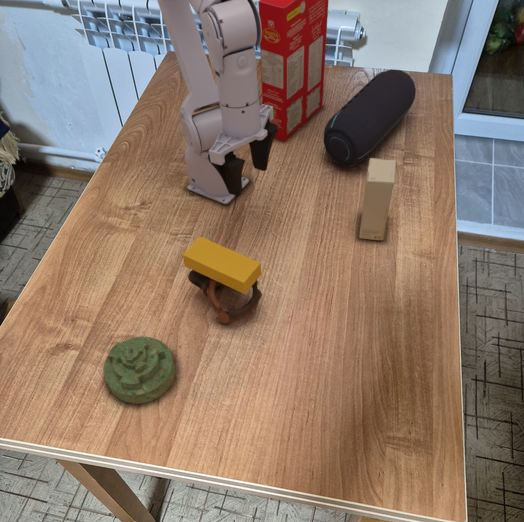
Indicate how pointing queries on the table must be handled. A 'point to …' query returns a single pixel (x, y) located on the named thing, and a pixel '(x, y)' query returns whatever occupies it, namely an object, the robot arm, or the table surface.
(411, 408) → the table surface
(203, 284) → the knobbed brown ring
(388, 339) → the table surface
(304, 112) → the food packaging
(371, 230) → the cosmetic box
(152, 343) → the decorative artifact
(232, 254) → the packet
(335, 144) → the portable speaker
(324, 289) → the table surface
